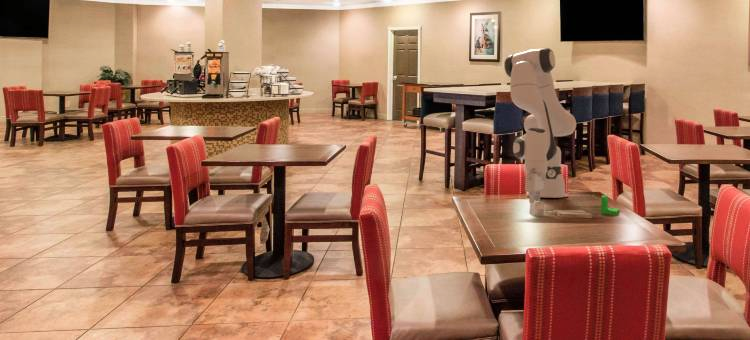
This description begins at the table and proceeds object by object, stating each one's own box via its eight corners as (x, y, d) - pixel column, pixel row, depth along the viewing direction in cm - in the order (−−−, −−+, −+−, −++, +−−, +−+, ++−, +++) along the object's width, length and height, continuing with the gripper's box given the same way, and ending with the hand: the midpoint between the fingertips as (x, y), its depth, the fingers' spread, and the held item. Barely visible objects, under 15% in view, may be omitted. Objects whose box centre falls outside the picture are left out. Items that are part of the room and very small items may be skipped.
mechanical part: (616, 216, 251) (616, 196, 251) (600, 215, 254) (601, 195, 253) (619, 213, 262) (620, 194, 261) (604, 212, 264) (605, 193, 264)
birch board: (552, 213, 257) (552, 209, 257) (581, 213, 257) (581, 210, 256) (562, 217, 243) (562, 214, 243) (592, 218, 243) (592, 214, 242)
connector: (528, 213, 256) (529, 201, 256) (538, 213, 256) (538, 201, 255) (536, 217, 243) (536, 204, 243) (546, 217, 243) (546, 204, 243)
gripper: (538, 169, 239) (536, 204, 240) (548, 167, 257) (547, 200, 258) (521, 168, 242) (520, 203, 242) (533, 167, 260) (532, 199, 261)
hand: (534, 202), depth 250 cm, fingers open, 8 cm apart
